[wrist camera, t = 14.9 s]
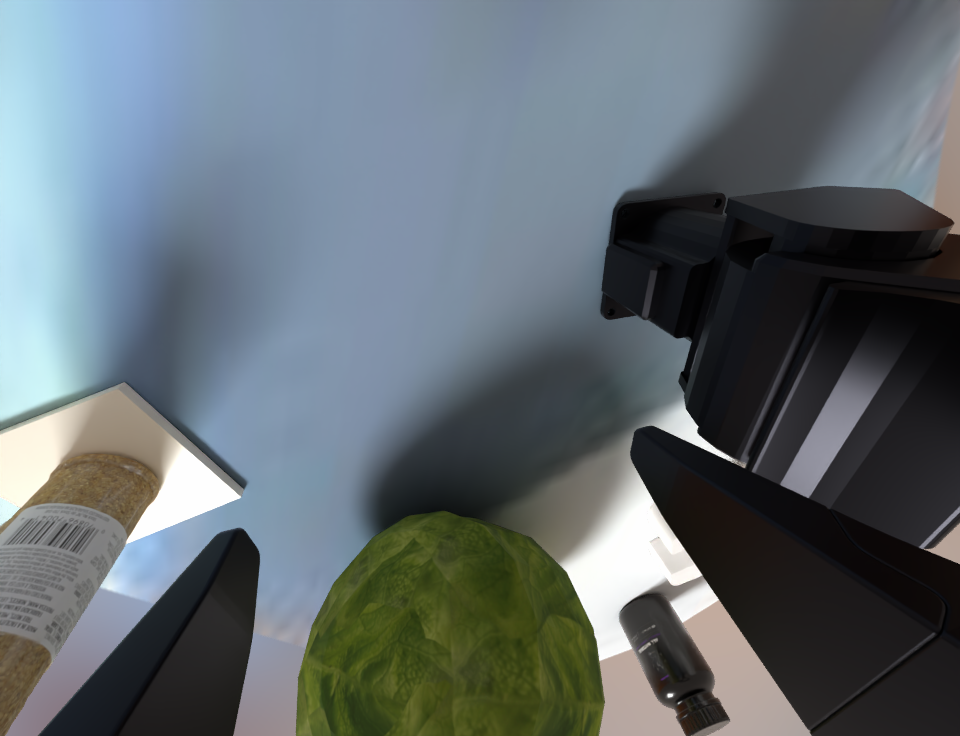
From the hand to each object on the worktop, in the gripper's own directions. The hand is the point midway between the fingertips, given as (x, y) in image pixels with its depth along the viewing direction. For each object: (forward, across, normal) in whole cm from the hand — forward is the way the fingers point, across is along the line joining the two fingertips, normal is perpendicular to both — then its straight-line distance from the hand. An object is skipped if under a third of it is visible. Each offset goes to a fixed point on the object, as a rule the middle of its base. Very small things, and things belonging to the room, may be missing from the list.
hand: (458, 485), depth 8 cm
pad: (+13, +18, +8) cm, 23 cm away
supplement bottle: (+13, -22, +46) cm, 53 cm away
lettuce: (+13, 0, +24) cm, 27 cm away
